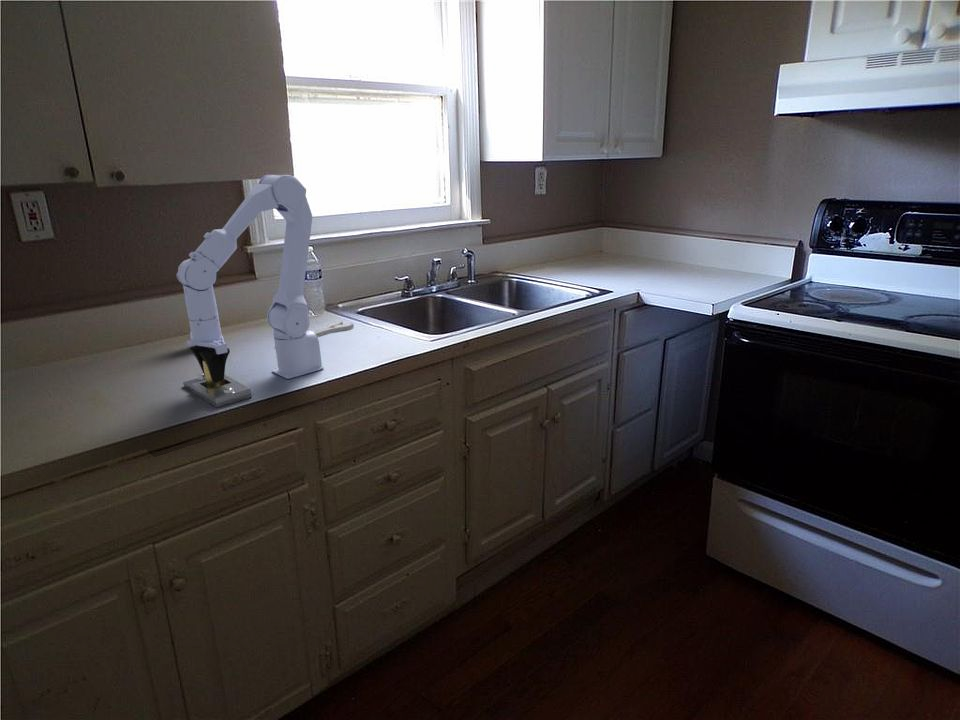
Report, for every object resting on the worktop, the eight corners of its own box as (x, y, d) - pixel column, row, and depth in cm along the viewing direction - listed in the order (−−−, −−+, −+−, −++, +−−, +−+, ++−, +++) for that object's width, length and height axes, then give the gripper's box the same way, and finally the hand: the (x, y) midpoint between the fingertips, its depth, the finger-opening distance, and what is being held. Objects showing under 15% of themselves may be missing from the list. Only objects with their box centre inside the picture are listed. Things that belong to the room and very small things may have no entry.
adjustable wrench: (279, 350, 164) (279, 344, 163) (267, 346, 168) (266, 340, 168) (357, 328, 181) (356, 322, 181) (343, 325, 185) (343, 319, 185)
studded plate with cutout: (216, 377, 144) (215, 367, 143) (251, 397, 132) (249, 386, 131) (183, 386, 139) (181, 375, 138) (216, 407, 127) (214, 396, 126)
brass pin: (220, 385, 138) (215, 355, 135) (228, 389, 135) (223, 359, 133) (204, 390, 135) (199, 360, 133) (212, 394, 133) (207, 363, 131)
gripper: (171, 315, 132) (182, 375, 137) (197, 327, 122) (209, 392, 127) (204, 309, 137) (215, 367, 141) (232, 320, 127) (242, 382, 131)
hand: (214, 378), depth 134 cm, fingers closed on brass pin, 4 cm apart
